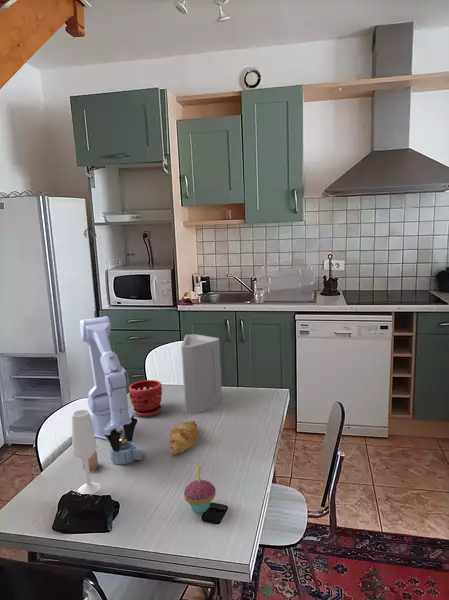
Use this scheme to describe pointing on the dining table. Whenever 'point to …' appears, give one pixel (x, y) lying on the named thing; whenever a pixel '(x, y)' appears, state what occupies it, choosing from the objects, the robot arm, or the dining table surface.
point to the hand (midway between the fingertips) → (122, 445)
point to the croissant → (183, 437)
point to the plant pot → (146, 397)
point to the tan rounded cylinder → (92, 461)
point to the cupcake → (199, 494)
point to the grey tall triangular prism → (201, 373)
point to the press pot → (125, 453)
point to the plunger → (123, 442)
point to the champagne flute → (84, 446)
